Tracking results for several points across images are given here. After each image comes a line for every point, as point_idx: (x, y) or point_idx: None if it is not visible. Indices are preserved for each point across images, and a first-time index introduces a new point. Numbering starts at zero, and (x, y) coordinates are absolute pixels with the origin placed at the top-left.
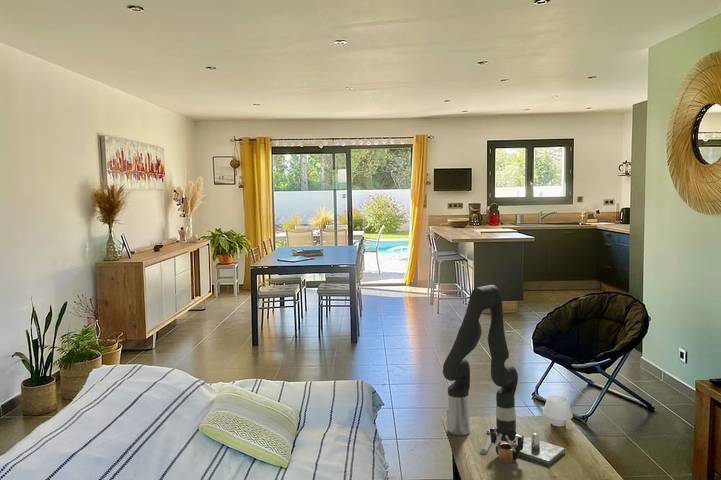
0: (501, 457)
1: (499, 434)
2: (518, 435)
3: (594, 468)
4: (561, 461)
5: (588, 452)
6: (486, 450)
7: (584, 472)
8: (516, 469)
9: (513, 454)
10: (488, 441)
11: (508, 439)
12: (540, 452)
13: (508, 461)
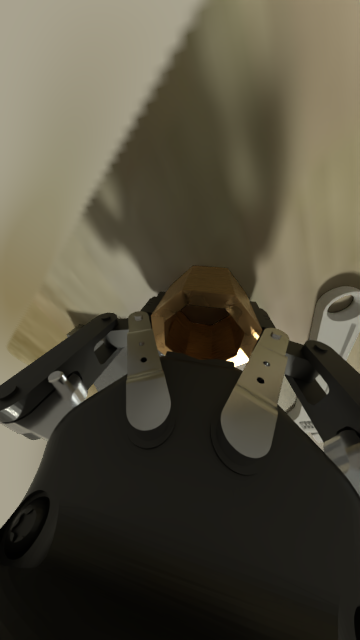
0: (217, 272)
1: (273, 431)
2: (38, 435)
3: (30, 355)
4: None
5: (86, 396)
6: (326, 314)
7: (19, 334)
8: (123, 234)
9: (154, 304)
10: (321, 381)
11: (144, 373)
12: (120, 368)
13: (182, 275)
